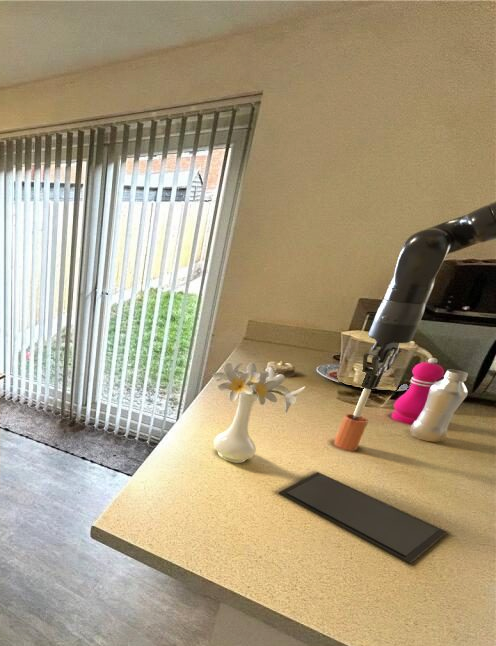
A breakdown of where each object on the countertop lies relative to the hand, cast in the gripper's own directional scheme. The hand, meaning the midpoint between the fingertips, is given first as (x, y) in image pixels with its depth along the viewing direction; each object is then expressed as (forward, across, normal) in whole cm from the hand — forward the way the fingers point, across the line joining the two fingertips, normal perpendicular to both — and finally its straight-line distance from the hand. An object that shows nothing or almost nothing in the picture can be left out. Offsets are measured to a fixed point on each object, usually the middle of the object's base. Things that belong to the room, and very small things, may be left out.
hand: (368, 387), depth 98 cm
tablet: (+18, -28, -14) cm, 36 cm away
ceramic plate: (+18, +57, +20) cm, 63 cm away
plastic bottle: (+18, +24, -8) cm, 31 cm away
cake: (+18, +41, +39) cm, 59 cm away
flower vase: (+18, -30, +11) cm, 37 cm away
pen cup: (+18, 0, 0) cm, 18 cm away
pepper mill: (+18, +33, -1) cm, 38 cm away
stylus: (+9, 0, 0) cm, 9 cm away
